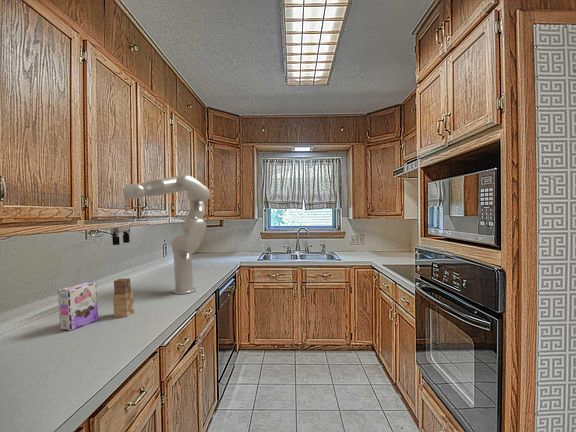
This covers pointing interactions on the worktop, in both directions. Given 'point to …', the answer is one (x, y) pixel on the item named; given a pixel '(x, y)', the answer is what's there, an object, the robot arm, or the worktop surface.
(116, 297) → the tower top
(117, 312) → the tower base
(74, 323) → the candy box
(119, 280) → the walnut cube
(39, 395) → the worktop surface
